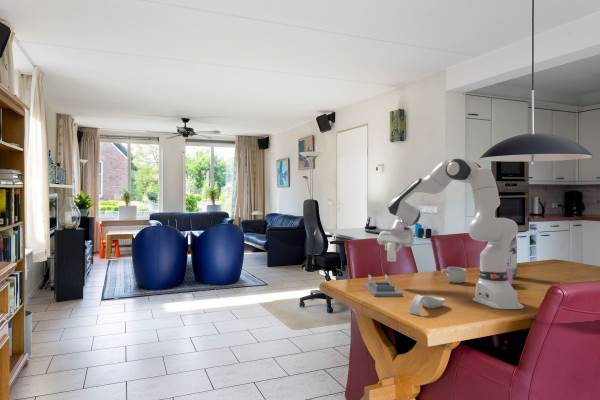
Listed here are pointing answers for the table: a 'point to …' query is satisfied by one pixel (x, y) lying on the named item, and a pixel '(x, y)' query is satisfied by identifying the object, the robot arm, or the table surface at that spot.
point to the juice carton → (512, 258)
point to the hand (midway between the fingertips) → (391, 250)
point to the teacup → (455, 274)
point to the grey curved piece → (425, 303)
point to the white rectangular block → (391, 252)
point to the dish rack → (382, 288)
